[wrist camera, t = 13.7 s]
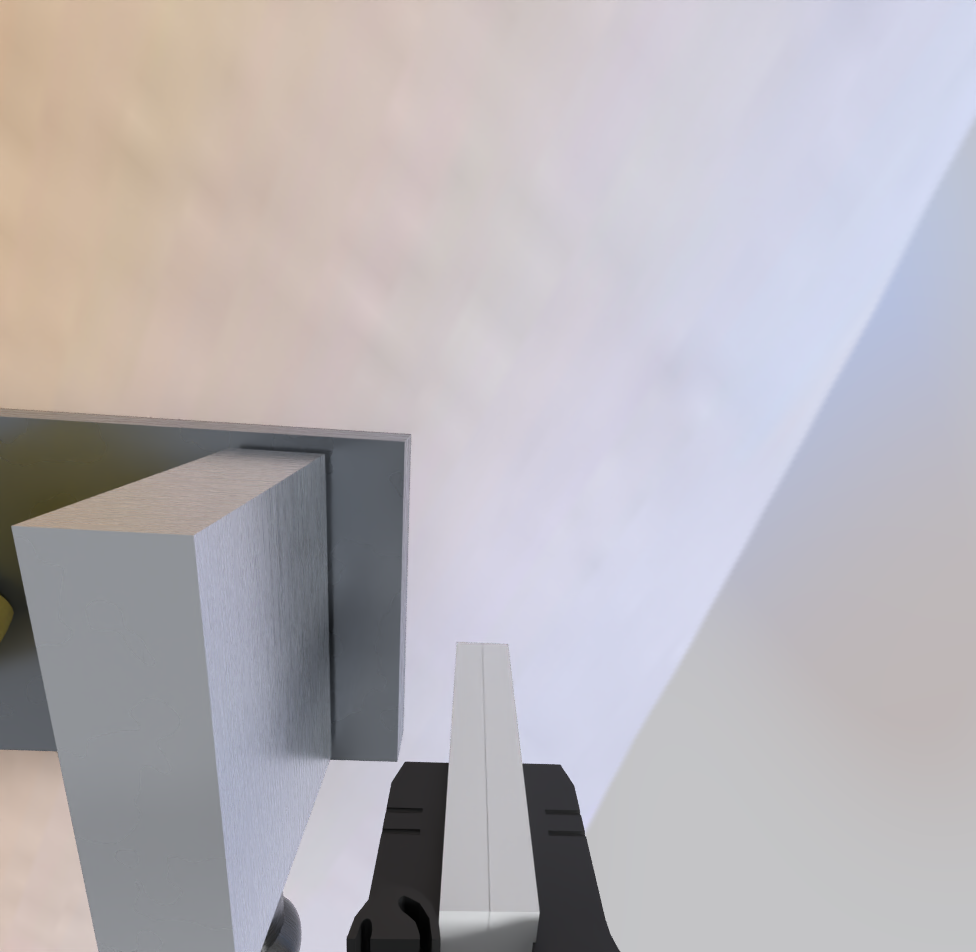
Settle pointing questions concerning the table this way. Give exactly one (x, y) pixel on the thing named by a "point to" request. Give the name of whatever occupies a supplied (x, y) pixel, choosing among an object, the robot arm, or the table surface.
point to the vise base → (171, 443)
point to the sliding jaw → (188, 693)
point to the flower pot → (5, 616)
